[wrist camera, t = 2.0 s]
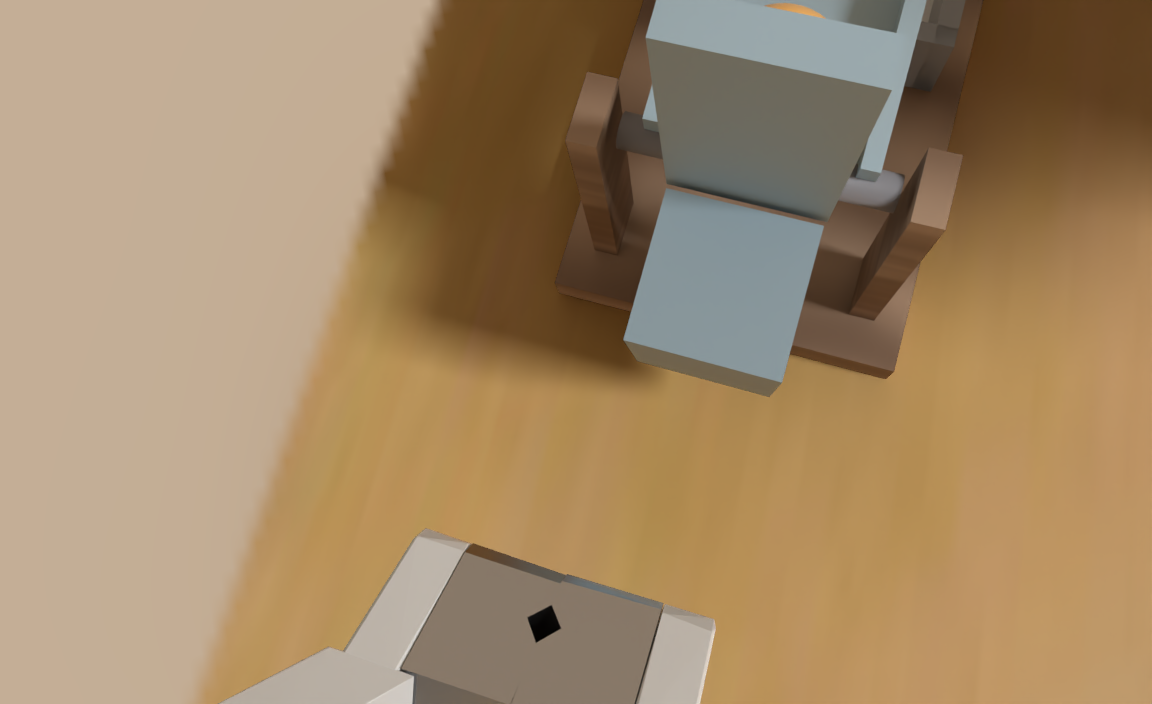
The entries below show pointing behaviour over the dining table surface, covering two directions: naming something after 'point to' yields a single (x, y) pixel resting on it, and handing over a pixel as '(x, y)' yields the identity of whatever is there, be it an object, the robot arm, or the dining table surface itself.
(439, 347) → the dining table surface
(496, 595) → the robot arm
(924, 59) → the bin
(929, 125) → the walnut lever base
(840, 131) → the tipping lever
